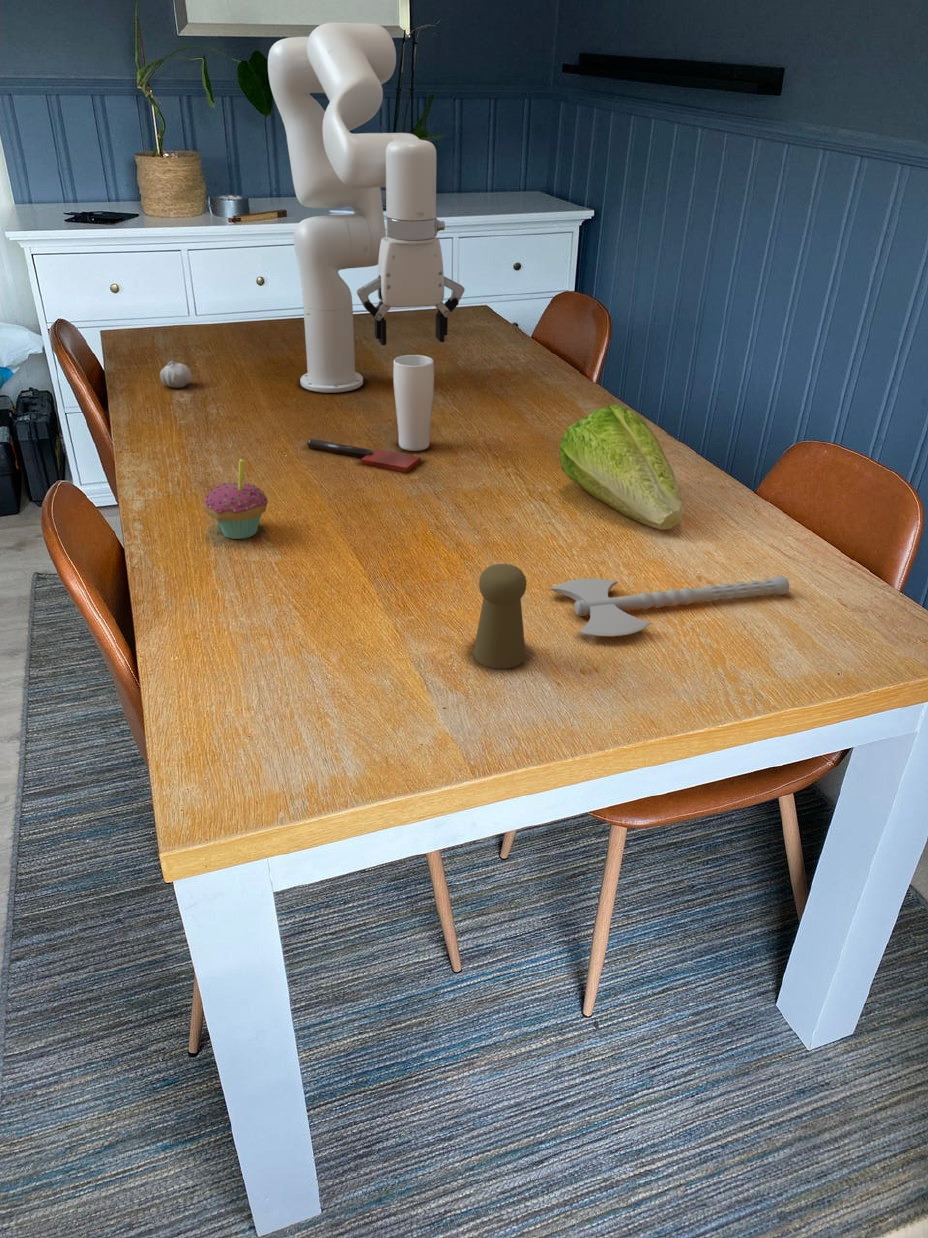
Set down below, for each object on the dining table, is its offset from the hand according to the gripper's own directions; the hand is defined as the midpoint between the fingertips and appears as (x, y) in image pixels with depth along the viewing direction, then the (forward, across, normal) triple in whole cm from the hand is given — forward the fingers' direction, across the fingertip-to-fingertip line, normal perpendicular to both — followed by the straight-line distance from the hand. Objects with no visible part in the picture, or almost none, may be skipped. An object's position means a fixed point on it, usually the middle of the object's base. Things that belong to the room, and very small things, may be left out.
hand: (411, 341), depth 155 cm
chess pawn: (+17, +6, +66) cm, 68 cm away
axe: (+17, -19, +61) cm, 66 cm away
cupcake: (+18, +32, +27) cm, 45 cm away
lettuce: (+18, -25, +32) cm, 44 cm away
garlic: (+19, +38, -42) cm, 59 cm away
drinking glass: (+18, 0, +1) cm, 18 cm away
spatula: (+18, +9, +4) cm, 20 cm away
